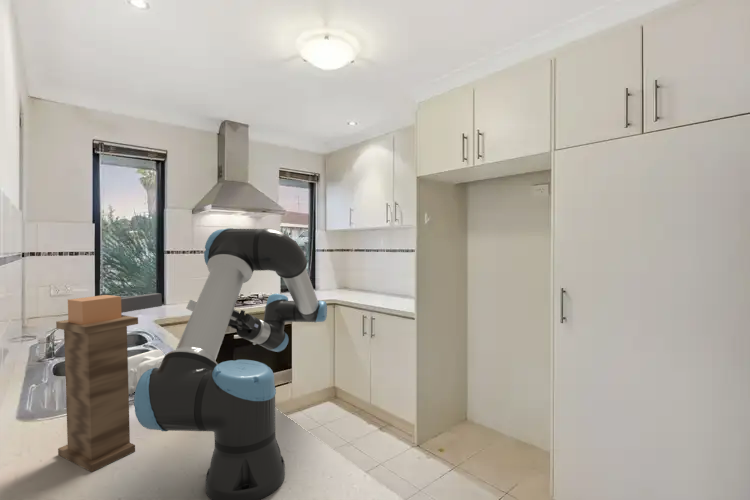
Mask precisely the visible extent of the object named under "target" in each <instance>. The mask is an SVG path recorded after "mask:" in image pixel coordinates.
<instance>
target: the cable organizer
mask: <svg viewBox="0 0 750 500" xmlns="http://www.w3.org/2000/svg"><path fill="white" fill-rule="evenodd" d="M165 355H166V354H164V352H163V350H161V349H152V350H150V351H146V352H143V353H137V354H135V355H132V356H128V390H129V394H130V395H132V393H133V394H135V393H134V392H135V390H136V386H137V383H138V381H139V379H140V377H141V376H142V374H143V373H144V372H146V371H147V370H149V369H152V368H159V367H160V365H161V363H162V361H163V358H164V356H165Z"/></svg>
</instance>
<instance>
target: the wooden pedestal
mask: <svg viewBox="0 0 750 500" xmlns="http://www.w3.org/2000/svg"><path fill="white" fill-rule="evenodd" d="M55 323H56V324H55V325H56V326H55V327H56V329H57V330H63V335H64V336H63V338H64V339H63V342H64V343H63V344H64V345H63V346H64V368H65V369H64V370H65V371H64V372H65V373H64V374H65V395H66V396H65V400H66V403H65V405H66V407H65V408H66V432H67V434H66V437H67V438H66V439H67V444H66V445H63V446H60V447H58V449H57V455H58V456H60V457H61V458H63V459H66V460H67V461H70V462H71V463H73V464H75V465H77V466H79V467H81V468H82V469H85V470H87V471H89V472H91V473H93V472H95V471H97V470H99V469H101V468H103V467H105V466H107V465H109V464H111V463H114V462H115V461H117V460H120V459H123V458H125V457H126V456H128V455H130V454H132V453H134V452H136V445H135V444H134V443H131V437H130V430H131V429H130V406H129V405H130V403H129V402H130V395H129V390H128V357H129V356H128V353H129V352H128V351H129V350H128V327H129V326H134V325H138V324H139V317H136V316H130V315H125V314H124V315H123V314H122V318H118V319H113V320H107V321H101V322H96V323H90V324H84V325H81V324H76V323H71V322H68V319H64V320H58V321H56V322H55Z"/></svg>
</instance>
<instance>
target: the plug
mask: <svg viewBox="0 0 750 500" xmlns="http://www.w3.org/2000/svg"><path fill="white" fill-rule="evenodd" d="M162 301H163V298H162V293H159V292H156V293H155V292H153V293H146V294H140V295H139V294H137V295H132V296H130V295H129V296H124V297H123V296H120V295H112V294H111V295H110V294H102V295H94V296H88V297H87V296H86V297H79V298H70V299H67V318H68V319H67V320H68V322H71V323H76V324H81V325H84V324H90V323H96V322H101V321H107V320H113V319H118V318H122V315H123V314H122V313H128V312H133V311H134V312H135V311H140V310H145V309H151V308H159V307H163V302H162Z"/></svg>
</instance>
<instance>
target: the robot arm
mask: <svg viewBox="0 0 750 500" xmlns="http://www.w3.org/2000/svg"><path fill="white" fill-rule="evenodd" d="M204 249H205V251H204V252H203V258H204V262H205V264H206V267H207V270H208V272H209V274H208V277H207V278H206V281H205V283H204V285H203V287H202V289H201V291H200V294H199V297H198V298H197V300H196V301H194V300H193V299H189V302H188V303H187V306H186V310H189V311H191V314H190V316H189V319H188V321H187V323H186V325H185V328H184V330H183V332H182V335H181V337H180V339H179V342H178V343H177V346H176V349H174V350H172V351H169V352H167V353H166V354H164V355H165V356H164V355H163V356H164V358H163V361H162V363H161V365H160V367H159V368H152V369H149V370H147V371H146V372H144V373H143V374H142V376H141V377H140V379H139V381H138V383H137V386H136V390H135V393H134V398H133V406H134V414H135V417H136V419H137V421H138V423H139V424H140V425H141V426H142V427H144V428H145V429H148V430H154V431H162V432H168V431H172V432H173V431H177V432H178V431H179V432H181V431H182V432H187V431H188V432H213V433H214V434H213V435H214V448H213V449H214V450H213V453H212V456H211V460H210V466H209V468H208V470H207V471H206V475H205V493H206V495H207V497H208V498H209V499H210V500H262V499H265V498H266V497H268V496H269V495H271V494H272V493H274V492H275V491H277V490H278V489H279V487H281V486H282V483H283V482H284V480H285V476H286V467H285V465H286V464H285V460H284V458H283V455H282V453H281V449H280V447H279V444H278V441H277V436H276V393H277V389H276V385H275V373H274V372H273V371H274V370H273V369H271V367H270V366H268V365H267V364H266V363H264V362H260V361H257V360H251V359H236V360H232V359H231V360H226V361H222V362H220V363H218V362H217V361H216V360H217V358H218V355H219V352H220V348H221V346H222V344H223V341H224V337H225V335H226V332H227V329H228V327H229V328H231V329H234V330H236V334H237V335H238V337H240V338H241V339H244V340H247V341H249V342H250V343H252V345H254V346H255V345H258V346H261V347H263V348H264V349H266V350H268V351H272V352H277V353H280V352H282V351H284V350H285V349H286V348H287V345H288V344H289V336H288V334H287V332H285V331H284V330H285V325H286V323H294V322H295V323H324V322H325V321H326V320H327V317H328V305H327V304H328V303H327V302H326V301H324V300H320V299H319V300H318V297H317V295H316V292H315V289H314V287H313V284H312V281H311V278H310V275H309V273H308V269H307V267H308V260H307V257H306V253H304V250H303V249H302V248H301V246H300V245H299V244H298V243H297V242H296V241H295V240H294V239H293V238H292V237H290V236H289V235H287V234H286V233H284V232H282V231H280V230H277V229H274V228H232V227H229V228H228V227H227V228H225V229H223V228H222V229H216V230H215V231H214V232H212V233H211V234H210V235H209V236H208V238H207V240H206V242H205V245H204ZM254 271H255V272H256V271H257V272H258V271H259V272H261V271H269V272H270V271H271V272H275V274H276V275H277V276H278V277H280V278H282V280H283V282H284V284H285V287H287V289H288V292H289V294H290V296H291V299H292V300H289V297H288V296H287V295H285V294H280V293H273V294H270V295H269V296H268V297H267V301H266V305H265V307H264V308H265V310H264V315H263V320H262V319H259V318H258V317H256V316H254V315H252V314H249V313H246V310H244V309H243V310H242V309H240V311H239V310H236V309H235V307H236V304H237V301H238V298H239V295H240V294H241V293H240V292H241V289H242V287H243V285H244V284H245V283H248V282H249V281H250V280H251V279H252V276H253V274H254ZM245 313H246V314H245Z"/></svg>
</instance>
